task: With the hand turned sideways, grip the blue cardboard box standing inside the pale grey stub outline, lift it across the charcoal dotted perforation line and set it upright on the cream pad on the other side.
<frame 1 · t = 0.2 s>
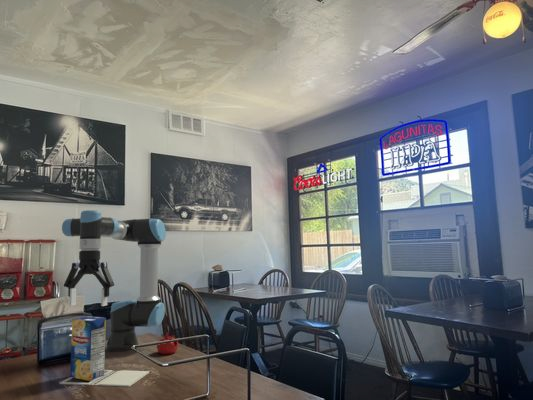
hand: (88, 305, 151), 28 cm above the table, tool pointing down, fingers open, 13 cm apart
pomegranate: (167, 353, 187), on the table
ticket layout: (106, 377, 152), on the table
blue cardboard box: (87, 376, 154), on the table, touching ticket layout
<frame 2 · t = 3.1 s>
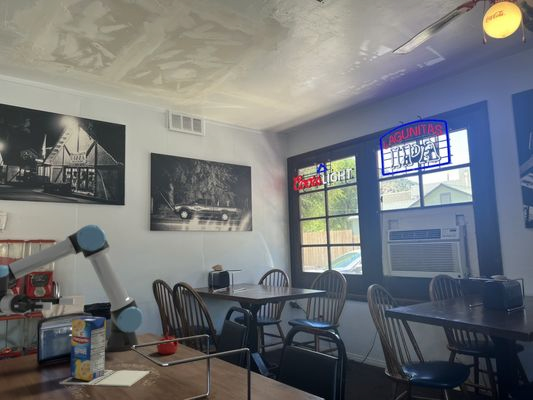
hand: (63, 303, 159), 28 cm above the table, tool horizontal, fingers open, 13 cm apart
nothing on the table moved.
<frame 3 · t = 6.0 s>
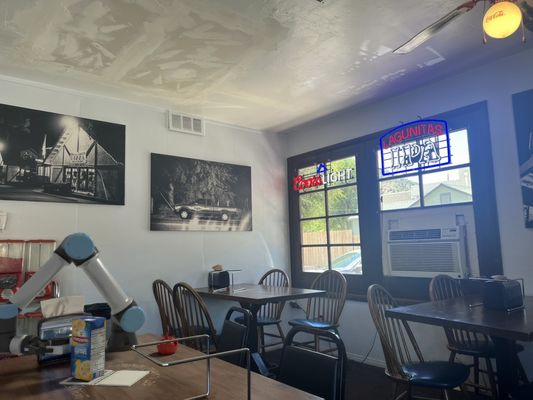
hand: (73, 345, 155), 12 cm above the table, tool horizontal, fingers open, 13 cm apart
nothing on the table moved.
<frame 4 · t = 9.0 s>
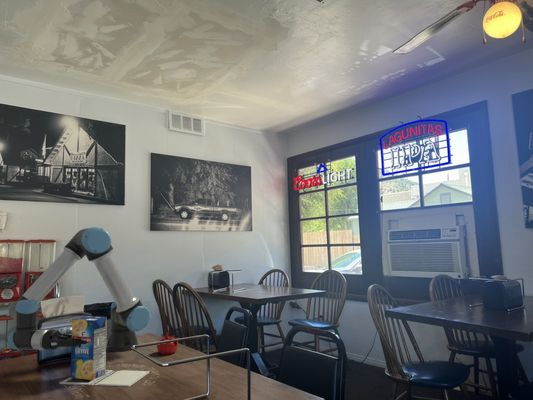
hand: (100, 340, 154), 14 cm above the table, tool horizontal, fingers open, 3 cm apart
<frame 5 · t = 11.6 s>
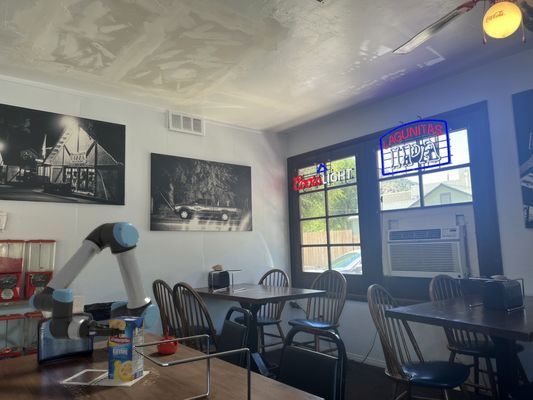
hand: (139, 330, 152), 18 cm above the table, tool horizontal, fingers open, 3 cm apart
blue cardboard box: (125, 377, 151), resting on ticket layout
everything else where it was.
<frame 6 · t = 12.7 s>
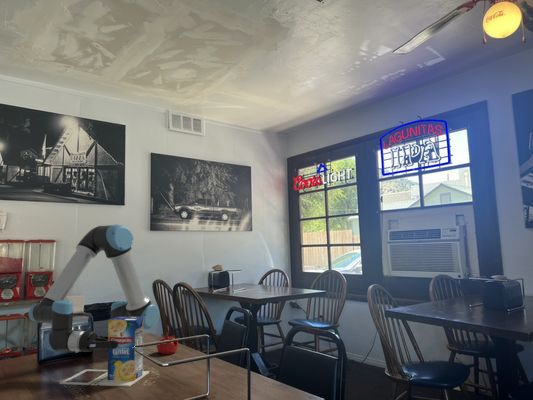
hand: (139, 342, 152), 14 cm above the table, tool horizontal, fingers open, 2 cm apart
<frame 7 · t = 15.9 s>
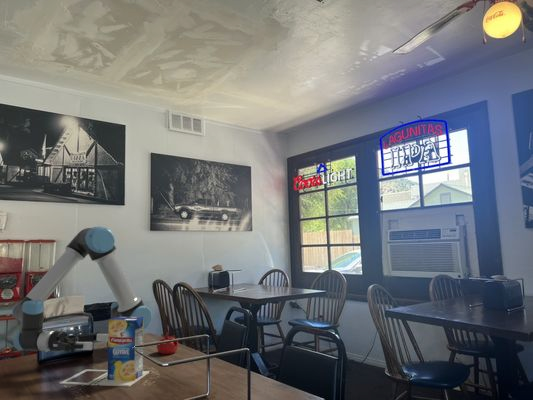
hand: (102, 341, 154), 14 cm above the table, tool horizontal, fingers open, 13 cm apart
nothing on the table moved.
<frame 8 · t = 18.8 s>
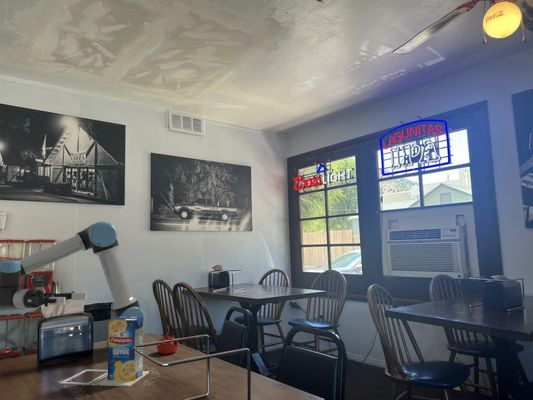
hand: (76, 298, 159), 30 cm above the table, tool horizontal, fingers open, 13 cm apart
nothing on the table moved.
at the end: blue cardboard box inside the target area (0.1 cm from its centre), resting on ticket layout; blue cardboard box tilted 0°; the gripper is holding nothing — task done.
